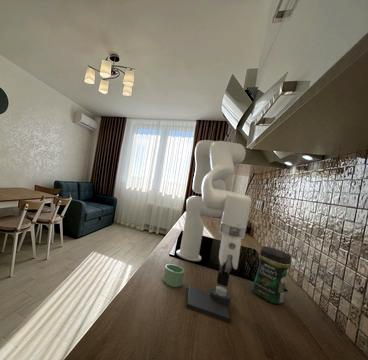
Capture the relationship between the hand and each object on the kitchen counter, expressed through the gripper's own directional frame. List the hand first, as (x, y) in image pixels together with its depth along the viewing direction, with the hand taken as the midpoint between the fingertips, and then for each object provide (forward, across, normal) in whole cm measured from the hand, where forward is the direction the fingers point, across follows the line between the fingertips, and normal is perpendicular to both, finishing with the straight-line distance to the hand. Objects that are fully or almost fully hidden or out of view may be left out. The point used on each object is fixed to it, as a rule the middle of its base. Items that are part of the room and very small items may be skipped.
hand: (221, 284), depth 72 cm
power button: (+3, 0, 0) cm, 3 cm away
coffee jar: (+6, +16, -18) cm, 25 cm away
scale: (+6, -4, +4) cm, 8 cm away
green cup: (+6, +2, +16) cm, 17 cm away
